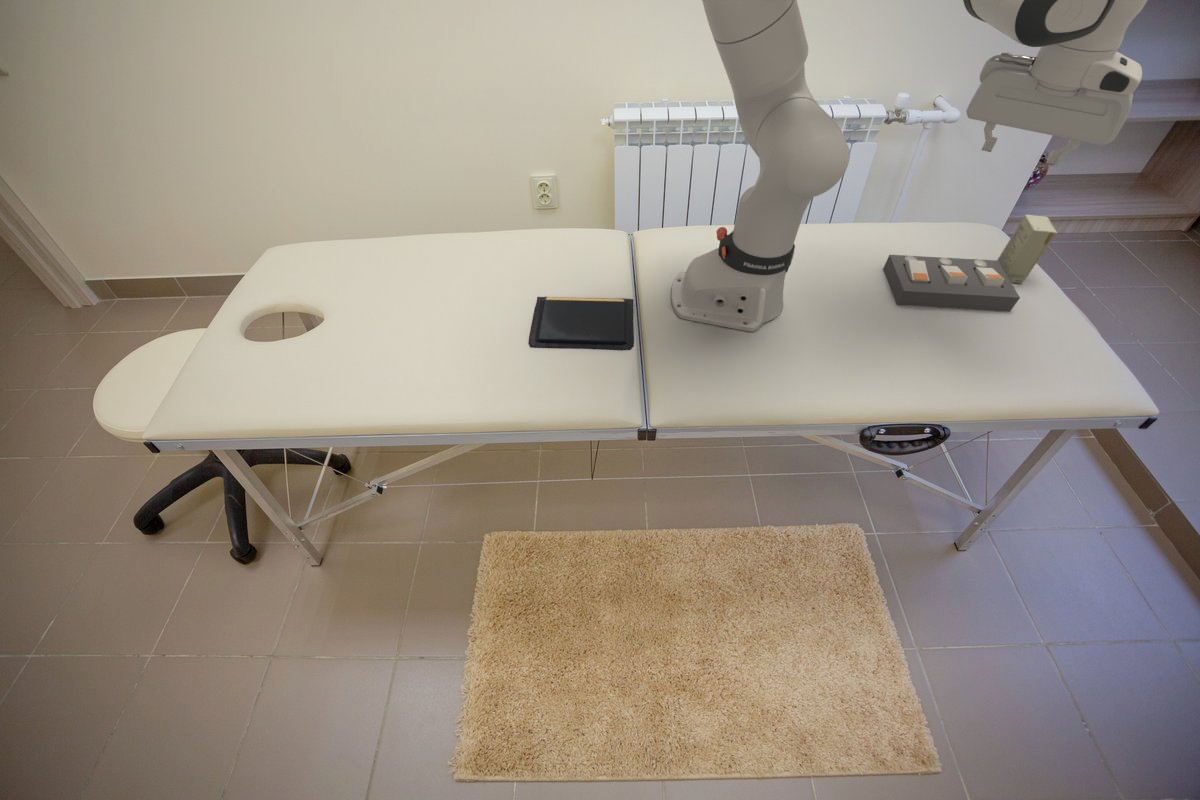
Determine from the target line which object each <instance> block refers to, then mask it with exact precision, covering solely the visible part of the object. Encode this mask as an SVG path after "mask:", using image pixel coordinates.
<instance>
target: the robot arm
mask: <svg viewBox="0 0 1200 800" xmlns="http://www.w3.org/2000/svg"><path fill="white" fill-rule="evenodd" d="M701 1H702V5H703V9H704V12H705V16H706V18H707V23H708V26H709V29H710V33H711V35H712V37H713V41H714V42H715V46H716V48H717V51H718V53H719V56H720V59H721V62H722V65H723V67H724V70H725V72H726V75H727V78H728V80H729V84H730V87H731V90H732V94H733V98H734V104H735V105H734V106H735V109H736V112H737V116H738V120H739V125H740V128H741V131H742V134H743V137H744V139H745V141H746V142H747V143H748V145H749V146H750V148H751V149H752V150H753V152H754V153H755V155H756V156H757V157H758V158H759V159H758V161H759V174H758V176H757V180H756V182H755V184H754V185H753V186H751V187H749V188H748V189H746V190H745V191H744V192H743V193H742V195H741V197H740V199H739V203H738V207H737V212H736V216H735V217H736V218H735V222H734V225H733V230H731V232H730V233H728V229H727V228H726V227H724V226H721V227H719V228H718V229H717V230H716V239H717V241H719V244H718V247H717V248H714V249H713V250H710V251H709V252H705V253H704V254H702V255H701V254H700V255H699V256H696V257H695V258H693V259H692V260H691V262H690V263H689V265H688V267H687V269H686V271H682V272H679V273H678V274H677V275H676V276H675V278H674V280H673V282H672V284H671V289H670V302H671V306H672V309H673V311H674V313H675V314H676V315H677V316H678V317H679V318H680V319H682V320H688V321H693V322H698V323H704V324H709V325H713V326H718V327H724V328H730V329H735V330H740V331H745V332H750V333H751V332H756V331H757V330H758V329H760V327H762V325H764V324H766V323H767V322H770V321H772V320H775V319H776V318H777V317H778V316H780V314H781V313H782V312H783V309H784V286H785V279H786V275H787V273H788V271H789V268H790V267H791V264H792V261H793V258H794V254H795V249H796V245H795V241H796V238H797V234H798V231H799V228H800V224H801V222H802V219H803V217H804V214H805V211H806V210H807V207H808V205H809V204H810V202H811V201H812V200H813V199H814V197H818V196H821V195H822V194H824V193H826V192H828V191H830V190H831V189H832V188H833V187H834V186H835V185H837V184H838V183H839V182H840V181H841V179H842V178H843V176H844V175H845V173H846V171H847V169H848V167H849V163H850V161H851V160H850V159H851V153H850V148H849V145H848V143H847V140H846V137H845V135H844V133H843V131H842V129H841V127H840V126H839V124H838V123H837V122H836V121H835V120H834V119H833V117H831V116H830V115H829V114H828V112H827V111H825V109H823V108H822V107H821V106H820V105H819V103H818V102H817V101H816V99H815V98H814V97H813V95H812V93H811V91H810V89H809V88H808V87H809V86H808V85H807V81H806V75H805V74H806V73H805V72H806V70H805V63H806V61H807V58H808V54H809V44H808V41H807V36H806V33H805V29H804V24H803V20H802V16H801V13H800V8H799V4H798V0H701ZM962 1H963V6H964V8H965V10H966V11H967V12H968V14H969V15H970V16H971V17H973V18H975V19H977V20H979V21H982V22H984V23H987V24H988V25H990V26H991V27H993V28H995V29H996V30H998V31H999V32H1001V33H1002V34H1003V35H1005V36H1007V37H1008V38H1010V39H1012V40H1013V41H1015V42H1016V43H1018V44H1021V45H1022V46H1026V47H1027V46H1028V47H1032V48H1039V47H1040V48H1039V50H1038V52H1037V54H1036V56H1031V55H1030V56H1029V55H1017V54H1012V53H1010V52H1001V54H999V55H998V54H997V55H994V56H992V57H990V58H989V59H987V61H985V63H984V65H983V68H982V70H981V71H980V74H979V82H980V84H979V85H978V87H977V88H976V89H977V90H976V91H975V93H974V94H973V96H972V98H971V100H970V102H969V104H968V106H967V108H966V111H965V112H966V117H967V118H968V119H970V120H975V121H979V122H983V123H985V125H984V127H983V132H984V139H985V141H984V143H983V145H982V147H981V151H983V152H989V153H991V152H992V151H993V149H994V147H995V145H996V143H997V140H998V137H994V136H993V131H994V130H995V128H996V126H997V125H999V126H1004V127H1009V128H1015V129H1019V130H1024V131H1027V132H1029V131H1030V132H1035V133H1040V134H1044V135H1049V136H1053V137H1058V138H1064V139H1068V141H1067V145H1065V146H1063V147H1062V148H1061V149H1059V150H1056V149H1052V151H1051V152H1050V155H1049V156H1048V158H1047V160H1046V163H1045V165H1047V166H1052V167H1057V166H1058V165H1059V163H1060V162H1061V160H1062V159H1063V157H1066V156H1067V155H1068V154H1070V153H1071V152H1073V151H1074V150H1076V149H1078V148H1079V146H1080V144H1081V142H1084V143H1088V144H1094V145H1098V146H1105V145H1107V144H1109V143H1111V142H1113V141H1114V140H1115V139H1116V138H1117V136H1118V134H1119V133H1120V131H1121V130H1122V128H1123V126H1124V123H1125V122H1126V120H1127V118H1128V115H1129V114H1130V111H1131V110H1132V109H1131V108H1132V104H1133V98H1134V96H1133V95H1134V92H1136V90H1137V89H1138V87H1139V85H1140V83H1141V81H1142V79H1143V67H1142V66H1141V64H1140V63H1138V62H1137V61H1135V60H1133V59H1131V58H1130V57H1128V56H1126V55H1124V54H1123V53H1120V52H1118V50H1120V49H1119V48H1120V46H1121V45H1122V43H1123V41H1124V38H1125V35H1126V31H1127V29H1128V27H1129V25H1131V23H1132V22H1133V20H1134V19H1135V18H1136V17H1137V16H1138V15H1139V13H1141V11H1142V10H1143V9H1144V7H1145V6H1146V4H1147V2H1148V1H1149V0H962Z"/></svg>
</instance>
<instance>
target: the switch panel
mask: <svg viewBox="0 0 1200 800" xmlns="http://www.w3.org/2000/svg"><path fill="white" fill-rule="evenodd" d="M908 260H917V261H925V264H926V268H927V273H928V277H929V282H928V283H914V282H910V279H909V277H908V275H907V272H906V270H905V265H906V263H907V262H908ZM997 260H998V259H997ZM997 260H993V259H979V258H978V259H976V258H975V259H973V258H960V257H959V258H958V257H941V256H939V257H938V256H921V255H920V256H919V255H906V254H905V255H901V254H889V255H888V257H887V259H886V261H885V263H884V265H883V267H882V269H883V272H884V274H885V278H886V279H887V282H888V285H889V287H890V290H891V293H892V295H893V298H894V301H895V303H896V305H897V306H913V307H927V308H929V307H930V308H944V309H945V308H948V309H962V310H963V309H965V310H966V309H967V310H979V311H980V310H981V311H996V312H1011V311H1012V309H1013V308H1014V307H1015V305H1016V304H1017V303H1018V301H1019V300H1020V299H1021V297H1020V295H1019V294H1018V292H1017V290H1016V288H1015V287H1014V285H1013V282H1010V280H1009V278H1008V277H1007V275H1006V273H1005V272H1004V270H1003V268H1002V267H1001V265H1000V263H999V262H998V261H997ZM941 265H945V266H957V267H958V268H959V269H960V270H961V271H962V272H963V273H964V274H965V275H966V276H967V277H968V278H967V280H966V282H965V285H949V284H946V282H945V280H944V278H943V276H942V273H941V271H940V266H941ZM976 267H981V268H993V269H994V270H995V271H996V272H997V273H998V274H999V275H1000V276H1001V277H1002V278H1004V281H1003V283H1002V285H1001V287H984V286H983V285H982V283H981V282H980V280H979V278H978V276H977V274H976V272H975V269H976Z"/></svg>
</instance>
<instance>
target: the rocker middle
mask: <svg viewBox="0 0 1200 800" xmlns="http://www.w3.org/2000/svg"><path fill="white" fill-rule="evenodd" d="M940 271H941V273H942V276H943V278H944V280H945V282H946V284H949V285H965V282H966V280H967V278H968V277H967V276H966V275H965V274H964V273H963V272H962V271H961V270H960V269H959V268H958V267H957V266H945V265H941V266H940Z"/></svg>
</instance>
